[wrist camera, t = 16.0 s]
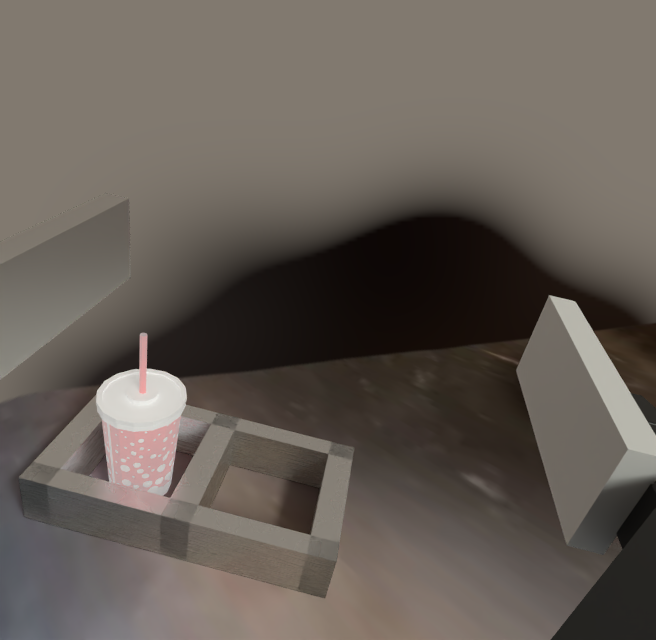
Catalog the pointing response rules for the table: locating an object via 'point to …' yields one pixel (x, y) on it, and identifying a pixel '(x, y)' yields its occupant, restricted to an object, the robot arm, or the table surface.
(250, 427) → the grey hollow block
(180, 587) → the table surface
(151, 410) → the beverage cup
